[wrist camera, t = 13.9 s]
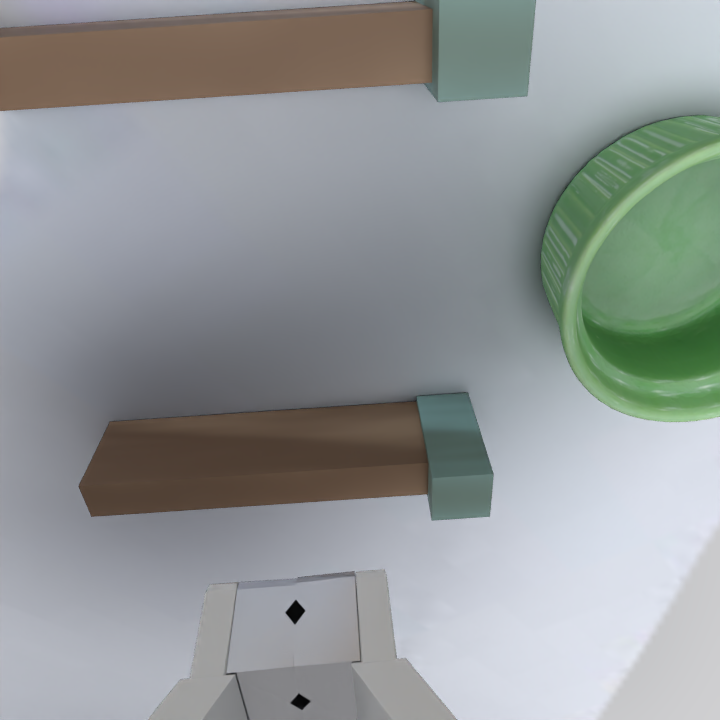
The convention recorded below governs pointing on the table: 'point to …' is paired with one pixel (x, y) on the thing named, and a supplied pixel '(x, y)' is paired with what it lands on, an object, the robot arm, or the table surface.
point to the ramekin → (643, 271)
